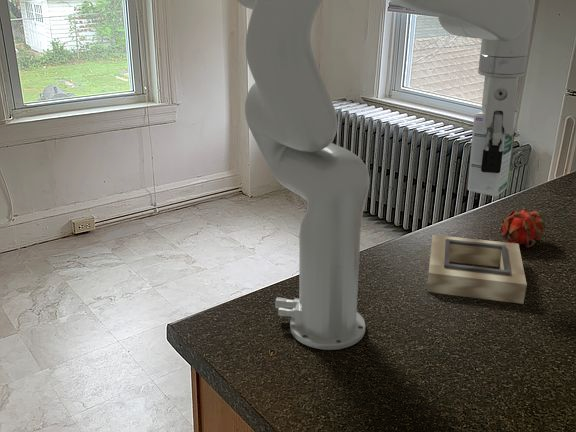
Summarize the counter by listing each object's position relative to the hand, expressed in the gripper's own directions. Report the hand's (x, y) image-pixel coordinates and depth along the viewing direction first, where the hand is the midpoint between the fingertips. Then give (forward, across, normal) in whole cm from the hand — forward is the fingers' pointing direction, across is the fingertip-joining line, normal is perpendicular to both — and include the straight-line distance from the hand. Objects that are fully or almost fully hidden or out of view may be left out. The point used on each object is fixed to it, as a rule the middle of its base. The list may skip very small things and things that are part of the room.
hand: (489, 164), depth 107 cm
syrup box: (+5, 0, 0) cm, 5 cm away
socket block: (+23, 0, 0) cm, 23 cm away
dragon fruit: (+23, +17, -10) cm, 30 cm away
